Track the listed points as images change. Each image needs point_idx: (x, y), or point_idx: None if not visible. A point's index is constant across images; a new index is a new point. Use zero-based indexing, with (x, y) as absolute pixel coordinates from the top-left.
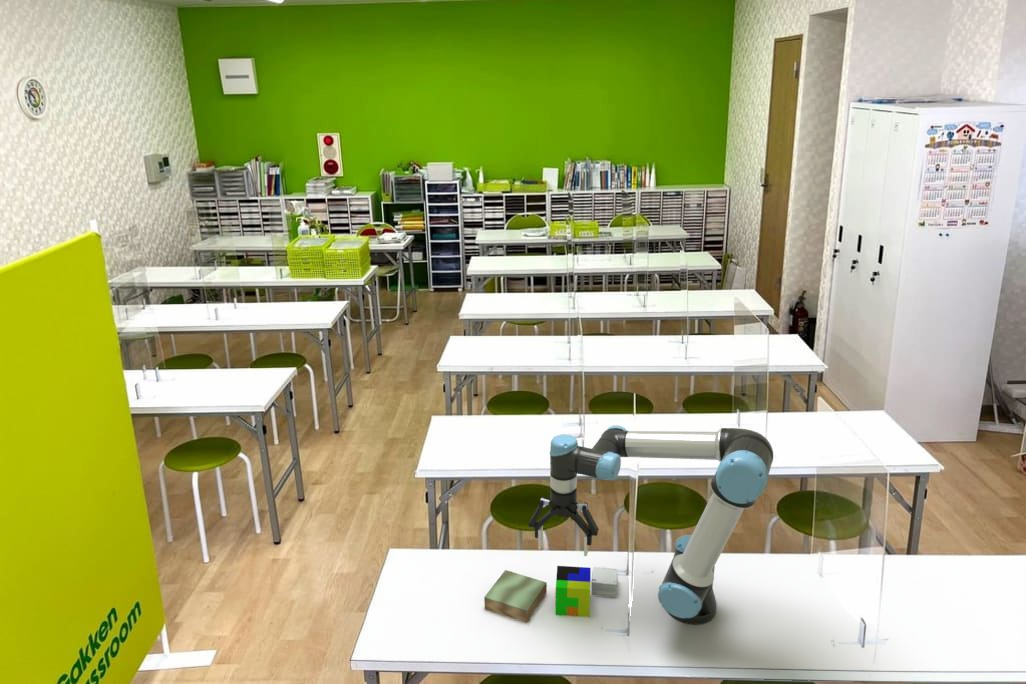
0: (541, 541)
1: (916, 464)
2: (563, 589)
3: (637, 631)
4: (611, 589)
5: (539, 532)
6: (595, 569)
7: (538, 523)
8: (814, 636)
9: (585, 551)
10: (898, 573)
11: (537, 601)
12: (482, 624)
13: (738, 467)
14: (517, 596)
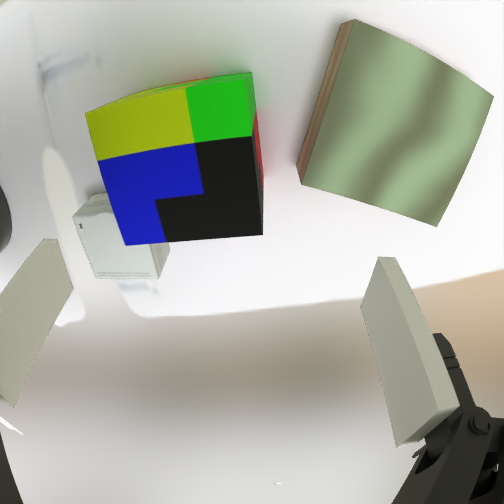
0: (385, 316)
1: None
2: (206, 84)
3: (23, 89)
4: (92, 205)
5: (442, 388)
6: (147, 268)
7: (474, 482)
8: None
9: (30, 261)
10: None
11: (323, 100)
12: (464, 25)
13: None
14: (401, 96)
